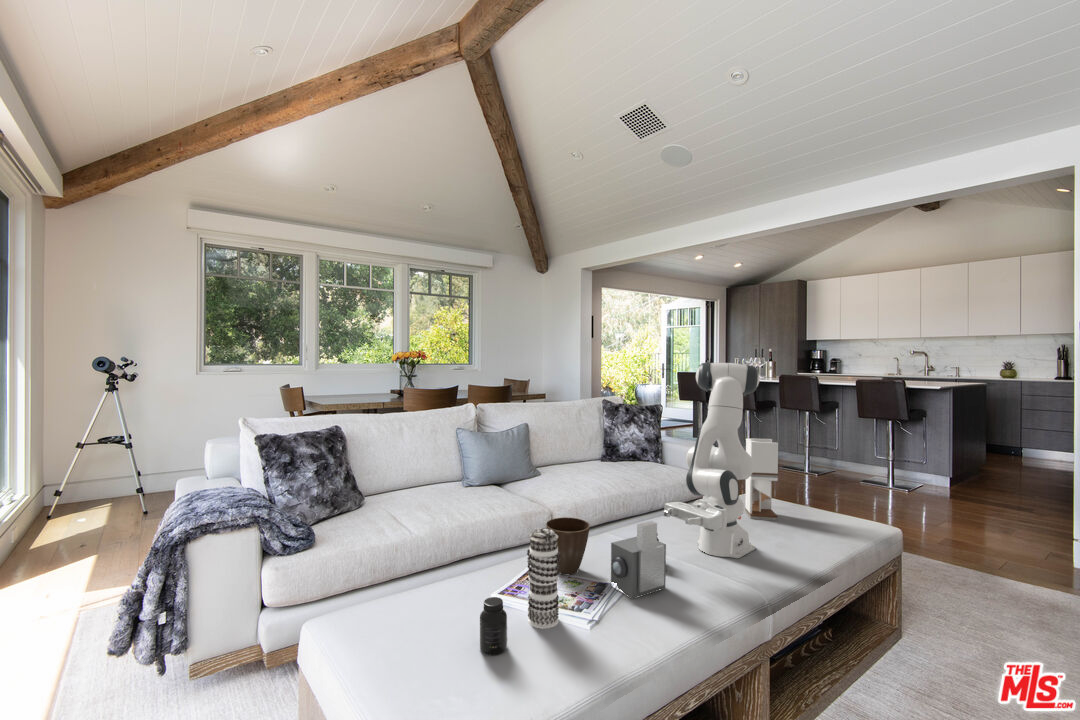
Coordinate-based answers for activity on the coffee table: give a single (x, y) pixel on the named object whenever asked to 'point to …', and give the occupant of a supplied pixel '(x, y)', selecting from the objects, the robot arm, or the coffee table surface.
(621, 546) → the block
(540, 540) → the black white cylinder
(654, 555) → the side door
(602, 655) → the coffee table surface
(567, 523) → the plant pot
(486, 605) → the supplement bottle
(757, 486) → the white cabinet
